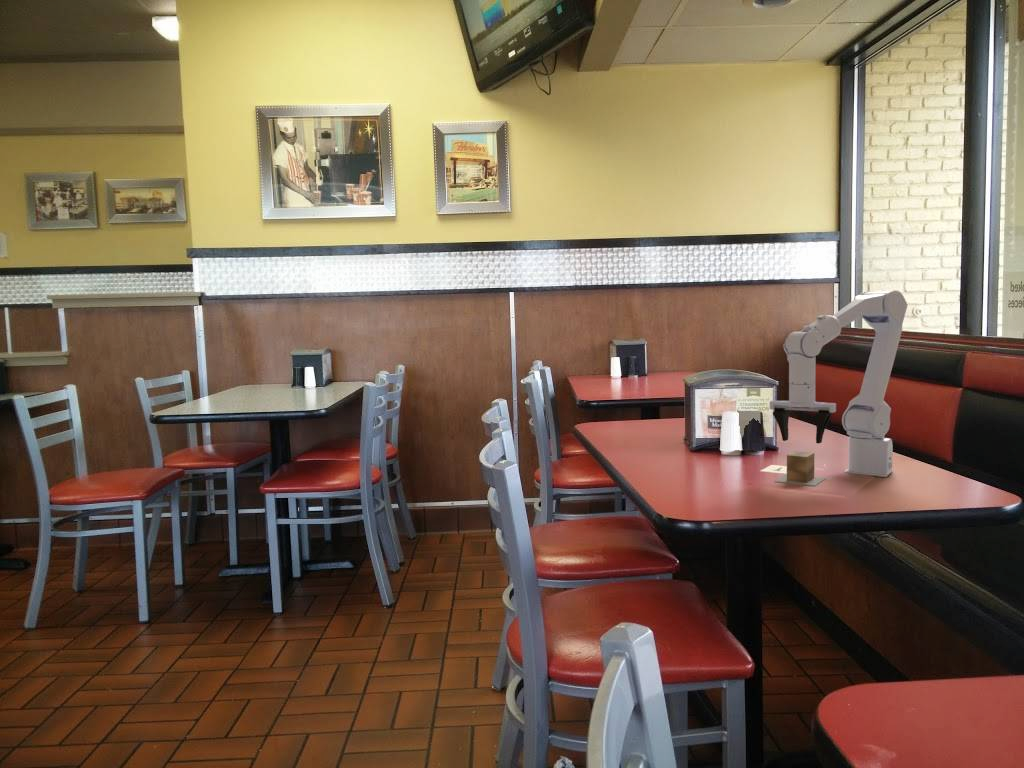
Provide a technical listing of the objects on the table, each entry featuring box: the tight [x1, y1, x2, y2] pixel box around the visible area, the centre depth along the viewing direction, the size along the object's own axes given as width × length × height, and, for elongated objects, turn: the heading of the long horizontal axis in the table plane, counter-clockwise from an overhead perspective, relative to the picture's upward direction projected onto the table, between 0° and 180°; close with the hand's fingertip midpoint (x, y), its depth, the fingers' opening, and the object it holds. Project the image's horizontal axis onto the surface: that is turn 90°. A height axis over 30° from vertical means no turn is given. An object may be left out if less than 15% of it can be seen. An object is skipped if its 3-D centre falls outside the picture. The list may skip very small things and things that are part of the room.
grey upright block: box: [735, 408, 761, 437], centre depth 218 cm, size 6×4×12 cm
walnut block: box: [786, 450, 815, 483], centre depth 179 cm, size 4×6×6 cm
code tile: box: [760, 464, 787, 475], centre depth 191 cm, size 9×9×1 cm
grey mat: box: [774, 474, 827, 487], centre depth 179 cm, size 9×9×1 cm
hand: (801, 441), depth 179 cm, fingers open, 7 cm apart
